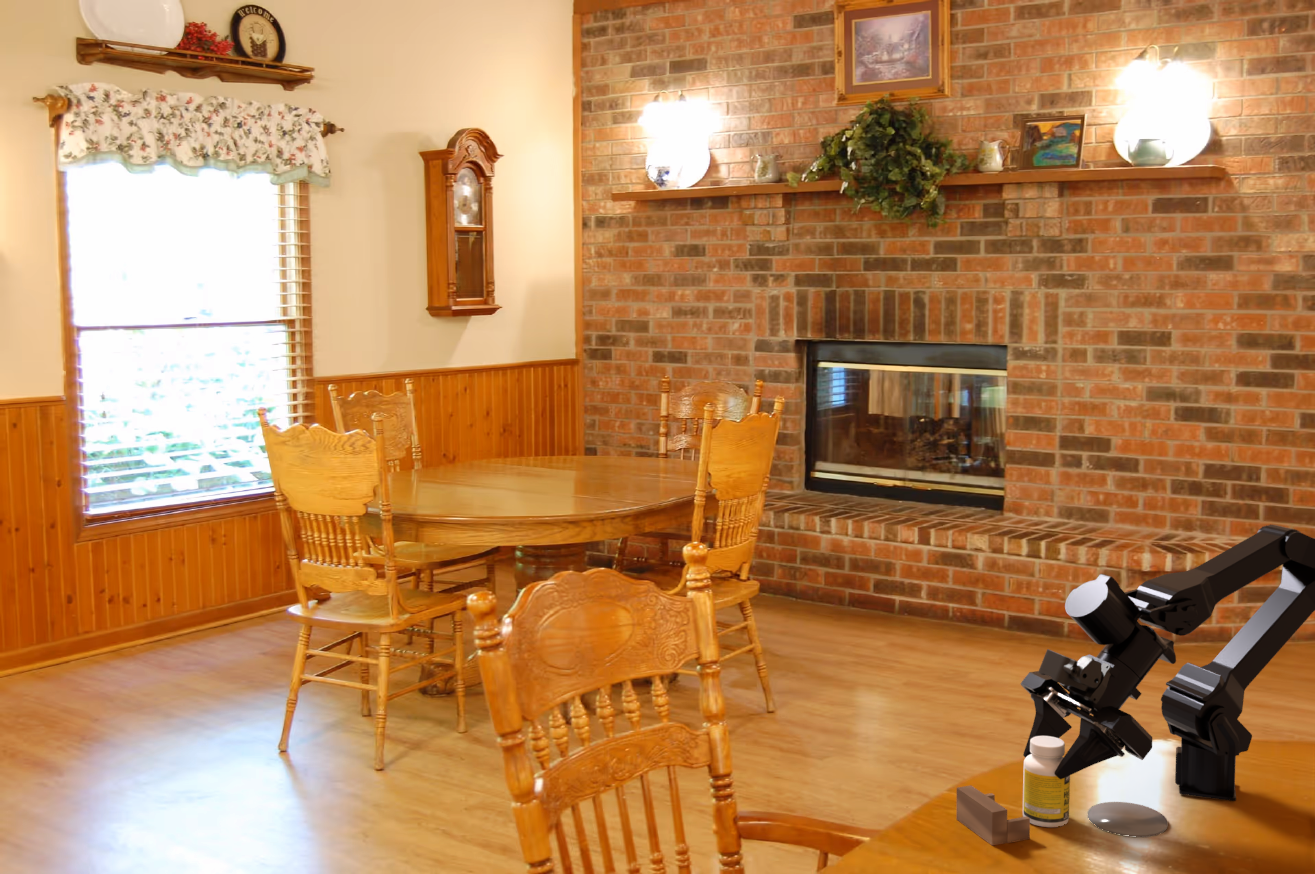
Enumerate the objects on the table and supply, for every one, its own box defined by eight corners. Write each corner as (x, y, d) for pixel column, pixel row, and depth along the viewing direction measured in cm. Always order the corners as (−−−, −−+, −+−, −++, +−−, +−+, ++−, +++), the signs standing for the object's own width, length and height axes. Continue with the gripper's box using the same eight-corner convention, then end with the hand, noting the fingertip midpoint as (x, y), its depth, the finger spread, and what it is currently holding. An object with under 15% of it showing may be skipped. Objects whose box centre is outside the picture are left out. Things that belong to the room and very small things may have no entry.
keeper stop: (991, 812, 152) (991, 781, 151) (1029, 838, 145) (1029, 806, 144) (956, 818, 150) (956, 787, 150) (992, 845, 143) (992, 812, 143)
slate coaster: (1167, 810, 151) (1168, 807, 151) (1167, 841, 143) (1167, 838, 143) (1090, 800, 155) (1090, 797, 155) (1084, 830, 146) (1085, 827, 146)
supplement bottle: (1072, 830, 147) (1073, 750, 145) (1024, 827, 148) (1025, 748, 146) (1066, 811, 152) (1067, 734, 151) (1020, 808, 153) (1021, 732, 152)
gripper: (1034, 608, 157) (958, 703, 155) (1133, 647, 140) (1049, 755, 138) (1085, 661, 161) (1011, 755, 159) (1188, 706, 143) (1107, 812, 141)
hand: (1041, 767), depth 149 cm, fingers open, 6 cm apart
